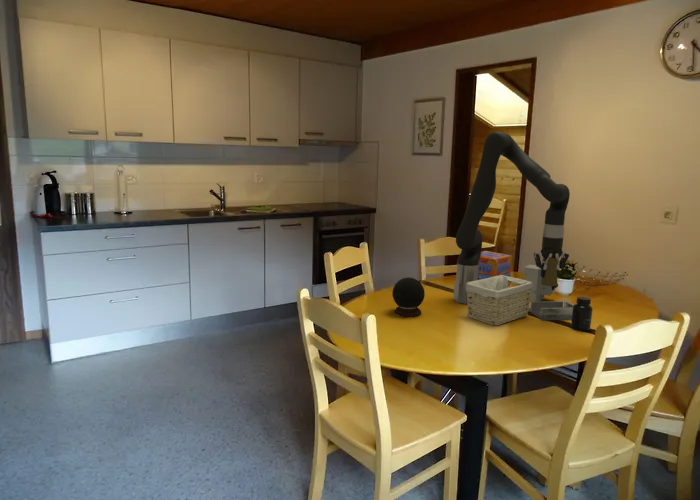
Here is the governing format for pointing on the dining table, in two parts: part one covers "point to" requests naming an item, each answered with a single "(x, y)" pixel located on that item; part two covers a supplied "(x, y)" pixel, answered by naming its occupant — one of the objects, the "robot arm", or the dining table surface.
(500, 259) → the game box
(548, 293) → the circuit breaker
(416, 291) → the black ball on stand
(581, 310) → the supplement bottle
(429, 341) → the dining table surface
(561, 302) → the grey wooden tray
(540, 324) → the dining table surface
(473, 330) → the dining table surface
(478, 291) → the storage basket
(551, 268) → the cork
